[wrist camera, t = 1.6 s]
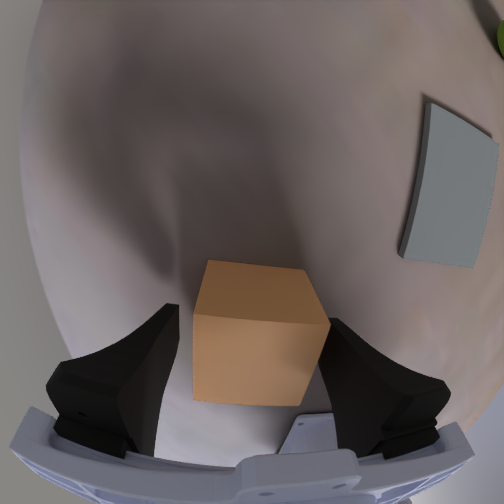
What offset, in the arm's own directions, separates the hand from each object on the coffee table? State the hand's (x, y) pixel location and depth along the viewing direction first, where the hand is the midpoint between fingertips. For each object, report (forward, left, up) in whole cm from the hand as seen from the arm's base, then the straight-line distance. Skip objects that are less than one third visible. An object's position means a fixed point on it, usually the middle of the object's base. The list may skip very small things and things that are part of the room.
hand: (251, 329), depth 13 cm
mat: (+8, -12, -2) cm, 14 cm away
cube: (0, 0, -2) cm, 2 cm away
